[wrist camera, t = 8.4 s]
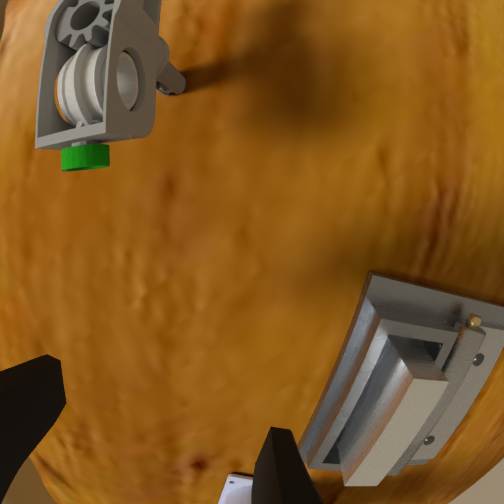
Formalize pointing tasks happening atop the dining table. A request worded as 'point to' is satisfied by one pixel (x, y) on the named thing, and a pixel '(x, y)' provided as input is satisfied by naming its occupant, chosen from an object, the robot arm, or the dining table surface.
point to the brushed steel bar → (389, 411)
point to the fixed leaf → (434, 342)
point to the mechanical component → (101, 78)
